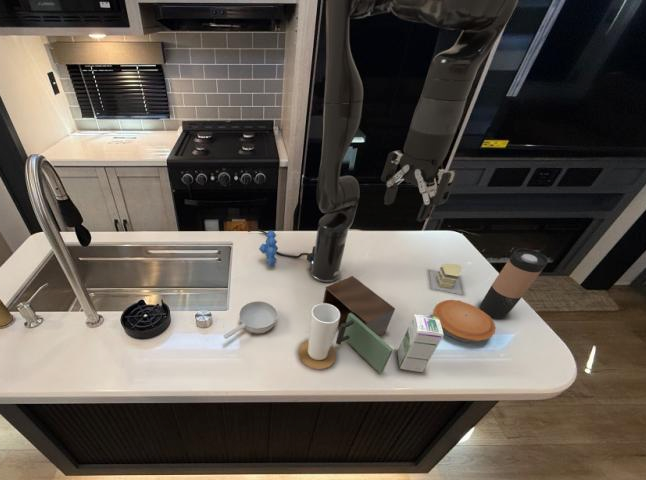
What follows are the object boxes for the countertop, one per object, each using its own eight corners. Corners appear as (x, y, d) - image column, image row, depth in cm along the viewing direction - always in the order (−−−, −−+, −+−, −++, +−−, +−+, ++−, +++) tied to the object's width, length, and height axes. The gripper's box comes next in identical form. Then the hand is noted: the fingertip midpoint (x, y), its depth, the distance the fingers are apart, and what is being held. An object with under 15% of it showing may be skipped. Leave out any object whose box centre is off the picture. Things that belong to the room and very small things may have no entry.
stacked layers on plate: (461, 294, 101) (469, 281, 97) (431, 288, 103) (438, 275, 99) (457, 276, 108) (465, 263, 104) (429, 271, 110) (435, 258, 106)
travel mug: (507, 308, 96) (548, 253, 82) (506, 323, 91) (549, 268, 78) (479, 299, 99) (514, 245, 85) (476, 313, 94) (513, 258, 81)
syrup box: (423, 373, 79) (446, 334, 69) (398, 369, 80) (418, 330, 70) (419, 355, 83) (440, 316, 73) (395, 351, 84) (413, 313, 74)
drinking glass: (314, 367, 79) (322, 327, 69) (299, 348, 84) (305, 308, 74) (335, 357, 82) (346, 317, 72) (320, 339, 86) (328, 299, 76)
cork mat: (291, 349, 84) (291, 348, 84) (319, 335, 88) (319, 334, 88) (313, 375, 78) (314, 374, 78) (343, 359, 82) (343, 358, 82)
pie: (480, 358, 82) (489, 346, 79) (420, 328, 90) (427, 316, 86) (495, 326, 90) (504, 314, 87) (440, 301, 98) (446, 289, 95)
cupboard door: (330, 342, 85) (336, 319, 79) (344, 335, 87) (351, 312, 81) (368, 380, 76) (378, 358, 70) (383, 372, 78) (393, 349, 72)
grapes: (258, 253, 118) (258, 224, 110) (276, 252, 118) (277, 224, 110) (259, 272, 110) (259, 242, 102) (278, 271, 110) (280, 242, 102)
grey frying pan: (284, 322, 92) (285, 313, 89) (238, 357, 82) (238, 348, 80) (258, 304, 97) (258, 295, 95) (212, 335, 88) (211, 326, 85)
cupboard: (320, 312, 95) (325, 286, 88) (345, 300, 99) (352, 275, 92) (358, 348, 85) (367, 322, 78) (384, 333, 88) (395, 308, 82)
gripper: (484, 133, 52) (445, 221, 63) (414, 115, 61) (390, 195, 72) (456, 140, 49) (419, 231, 60) (387, 120, 59) (366, 202, 70)
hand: (404, 211), depth 66 cm, fingers open, 8 cm apart
